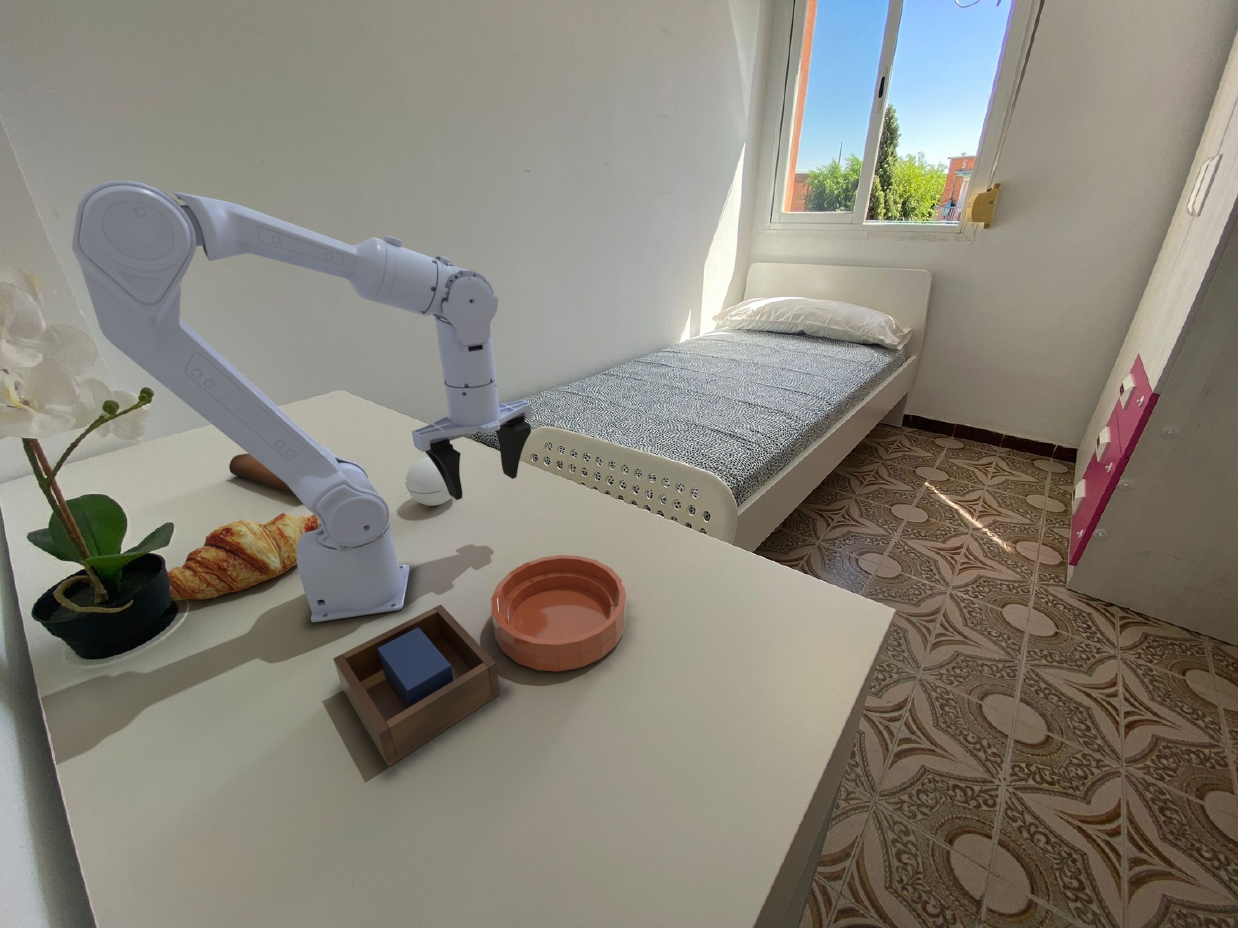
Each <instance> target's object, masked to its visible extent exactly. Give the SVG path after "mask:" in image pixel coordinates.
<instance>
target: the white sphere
mask: <svg viewBox="0 0 1238 928" xmlns="http://www.w3.org/2000/svg"><path fill="white" fill-rule="evenodd" d="M405 488H406V489H407V492H405V493H404V494H403V495H400V497H399V498H398V500H400V499H401V498H403V497H404V496H405V495H406V494H408V493H409V495H410V496H411V498H413V500H414V501H416V502H417V503H418V504H419V503H420V504H422V505H424V506H429V507H433V506H439V505H442V504H445V503H447V502H448V501H449V500H450V499H451V498H453V497H452V496H451V495H449V492H448V489H447V487H446V484H445V482H444V480H443V478H442V476H441V474H440V472H439V471H438V469H437V467H436V466H435V464H434V463H433V462H432V460H431V459H430V458H429V456H425V457H422V458H420V459H418V460H416V461H415V462H414V463H413V464H412V465H411V466H410V467H409V468H408V472H407V473H406V477H405Z"/></svg>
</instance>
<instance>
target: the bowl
mask: <svg viewBox="0 0 1238 928" xmlns="http://www.w3.org/2000/svg"><path fill="white" fill-rule="evenodd" d="M490 600H491V602H490V603H491V616H492V617H491V618H492V624H493V631H494V638H495V640H496V642H497V644H498V645H499V647H500V649H501V652H503V654H505V655H506V656H508V657H509V658H510V659H511V660H513V661H514V662H515V663H517V664H519V665H521V666H524V667H527V668H530V669H533V670H536V671H545V672H546V671H547V672H564V671H569V670H574V669H580V668H583V667H585V666H588V665H590V664H592V663H595V662H597V661H599V660H601V659H603V657H605V656H606V655H607V654H608V653H609V652H611V651H612V650H613V649H614V648H615V647H616V646H617V645H618V643H619V641H620V640H621V638H622V636H623V634H624V633H625V629H626V619H627V591H626V588H625V585H624V582H623V580H622V578H621V577H620V576H619V575H618V574H617V573H616V572H615V571H614V569H612V568H611V567H609V566H608V565H606V564H604V563H603V562H601V561H599V560H596V559H593V558H589V557H586V556H582V555H571V554H570V555H569V554H557V555H551V556H550V555H549V556H542V557H539V558H537V559H533V560H529V561H527V562H524V563H523V564H521V565H519V566H518V567H516V568H515V569H513V570H510V572H508V573H507V574H506V575H505V576H504V577H503V578H502V579H501V580H500V581H499V582H498V583H497V585H496V587H495V589H494V592H493V594H492V596H491V599H490Z"/></svg>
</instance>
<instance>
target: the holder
mask: <svg viewBox="0 0 1238 928" xmlns="http://www.w3.org/2000/svg"><path fill="white" fill-rule="evenodd" d="M418 627H419V628H420V629H421V631H422V632H423V633H424V634H425V635H426V637H427V638H428V639H429V640H430V641H431V643H432V644H433V645H434V646H435V647H436V648H437V650H438V651H439V652H440V653H441V654H442V656H443V657H444V658H445V659H446V660H447V662H448V663H449V664H450V665H451V669H452V674H453V679H454V681H452V682H451V683H449V684H447V685H446V686H444V687H442V688H441V689H439V690H437V691H436V692H434V693H432V694H431V695H429V696H427V697H426V698H424V699H422V700H421V701H419V702H417V703H416V704H414V705H412V706H411V707H409V708H407V709H406V708H405V707H404V705H403V704H402V702H401V701H400V699H399V698H398V696H397V695H396V694H395V692H394V691H393V689H392V688H391V686H390V685H389V683H388V682H387V680H386V679H385V675H384V671H383V668H382V664H381V660H380V657H379V653H378V648H379V647H381V646H383V645H385V644H387V643H389V642H391V641H393V640H394V639H396V638H398V637H400V636H402V635H404V634H406V633H408V632H410V631H412V630H414V629H416V628H418ZM332 660H333V662H334V666H335V669H336V672H337V675H338V678H339V680H340V681H339V682H340V685H341V687H342V691H343V692H344V694H345V695H346V697H347V699H348V701H349V702H350V704H351V706H352V707H353V710H354V711H355V712H356V714H357V716H358V717H359V719H360V721H361V722H362V724H363V726H364V728H365V730H366V732H367V733H368V734H369V736H370V738H371V740H372V742H373V743H374V745H375V746H376V749H377V750H378V752H379V753H380V755H381V757H382V759H383V761H384V762H385V764H386V765H387V767H389V768H390V767H391V766H393V765H394V764H396V763H397V762H399V761H401V760H402V759H403V758H406V757H407V756H408V755H410V754H411V753H413V752H414V751H416V750H417V749H419V748H421V747H422V746H423V745H425V744H426V743H428V742H429V741H431V740H432V739H434V738H435V737H437V736H438V735H440V734H442V733H443V732H445V731H446V730H448V729H449V728H450V727H451V728H452V726H454V725H456V724H457V723H459V722H460V721H462V720H463V719H464V718H467V717H468V716H469V715H470V714H472V713H474V712H475V711H477V710H478V709H480V708H481V707H484V705H486V704H487V703H489V702H490V701H492V700H493V699H495V698H497V697H498V696H500V695H501V690H500V682H499V676H498V675H499V674H498V667H497V662H496V661H495V660H494V659H493V658H492V657H491V656H490V655H489V654H488V653H487V651H485V650H484V648H483V647H482V646H481V645H480V644H479V643H478V642H477V641H476V640H475V639H474V638H473V637H472V636H471V634H470V633H469V632H468V631H467V630H466V629H465V628H464V627H463V626H462V625H461V624H460V623H459V622H458V621H457V619H455V618H454V616H453V615H452V614H451V613H450V612H449V611H448V610H447V609H446V608H445V607H444V606H443V605H442V604H438V605H437V606H435V607H433V608H431V609H428V610H426V611H424V612H423V613H421V614H419V615H417V616H415V617H413V618H411V619H409V620H406V621H405V622H402V623H401V624H399V625H397V626H395V627H393V628H391V629H388V630H387V631H385V632H382V633H381V634H379V635H377V636H374V637H373V638H370V639H368V640H367V641H365V642H363V643H361V644H359V645H357V646H355V647H353V648H350V649H349V650H347V651H345V652H342V653H341V654H339V655H337V656H335V657H333V658H332Z"/></svg>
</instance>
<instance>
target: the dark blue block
mask: <svg viewBox="0 0 1238 928" xmlns="http://www.w3.org/2000/svg"><path fill="white" fill-rule="evenodd" d="M378 653H379V657H380V660H381V664H382V668H383V671H384V675H385V679H386V680H387V682H388V683H389V685H390V686H391V688H392V689H393V691H394V692H395V694H396V695H397V696H398V698H399V699H400V701H401V702H402V704H403V705H404V707H405V708H406V709H407V708H409V707H411V706H412V705H414V704H416V703H417V702H419V701H421V700H422V699H424V698H426V697H427V696H429V695H431V694H432V693H434V692H436V691H437V690H439V689H441V688H442V687H444V686H446V685H447V684H449V683H451V682H452V681H454V679H453V674H452V669H451V665H450V664H449V663H448V662H447V660H446V659H445V658H444V657H443V656H442V654H441V653H440V652H439V651H438V650H437V648H436V647H435V646H434V645H433V644H432V643H431V641H430V640H429V639H428V638H427V637H426V635H425V634H424V633H423V632H422V631H421V629H420V628H419V627H418V628H416V629H414V630H412V631H410V632H408V633H406V634H404V635H402V636H400V637H398V638H396V639H394V640H393V641H391V642H389V643H387V644H385V645H383V646H381V647H379V648H378Z"/></svg>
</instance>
